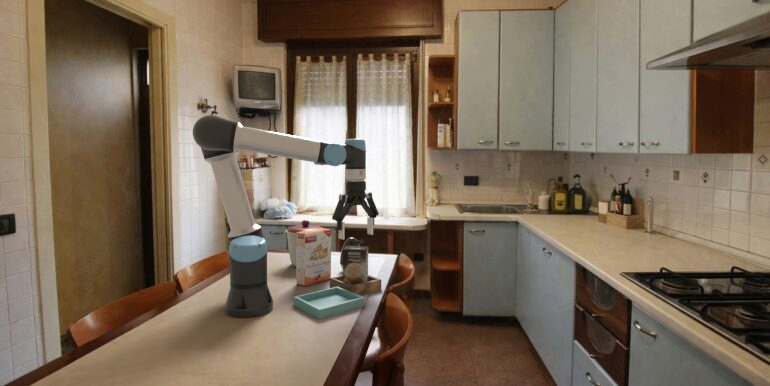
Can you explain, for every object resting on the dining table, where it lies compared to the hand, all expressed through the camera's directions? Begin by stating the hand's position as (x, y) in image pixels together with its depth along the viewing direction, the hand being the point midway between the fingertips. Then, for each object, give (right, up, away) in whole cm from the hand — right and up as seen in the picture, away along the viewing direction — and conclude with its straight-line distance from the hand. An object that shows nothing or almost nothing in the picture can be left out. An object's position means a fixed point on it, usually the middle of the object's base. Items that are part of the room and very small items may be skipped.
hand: (356, 236), depth 162 cm
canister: (-26, -17, +37) cm, 48 cm away
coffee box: (-1, -20, +2) cm, 21 cm away
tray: (-8, -22, -17) cm, 29 cm away
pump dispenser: (-4, -18, +27) cm, 32 cm away
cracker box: (-18, -19, +11) cm, 28 cm away
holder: (-1, -20, +2) cm, 20 cm away
